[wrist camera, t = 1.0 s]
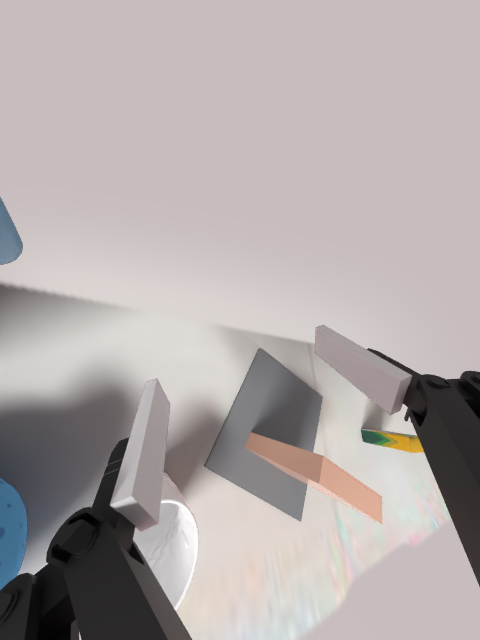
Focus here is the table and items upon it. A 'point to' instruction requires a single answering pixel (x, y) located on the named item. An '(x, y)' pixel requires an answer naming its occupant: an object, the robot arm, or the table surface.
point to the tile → (318, 474)
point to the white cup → (171, 543)
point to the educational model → (11, 532)
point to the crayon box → (392, 440)
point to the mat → (267, 433)
